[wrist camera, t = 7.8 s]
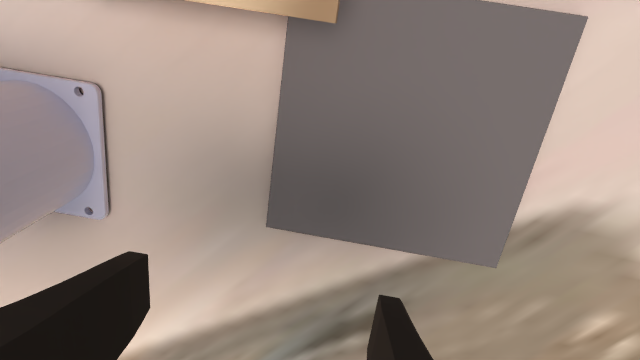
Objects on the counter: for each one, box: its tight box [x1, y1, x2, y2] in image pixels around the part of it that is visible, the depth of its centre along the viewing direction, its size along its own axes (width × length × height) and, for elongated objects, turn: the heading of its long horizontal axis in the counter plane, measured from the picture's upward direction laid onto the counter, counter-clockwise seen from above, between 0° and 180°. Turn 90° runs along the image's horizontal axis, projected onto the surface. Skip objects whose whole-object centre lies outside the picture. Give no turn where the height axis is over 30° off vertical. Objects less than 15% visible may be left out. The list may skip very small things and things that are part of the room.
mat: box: [266, 0, 588, 268], centre depth 20 cm, size 13×13×1 cm
